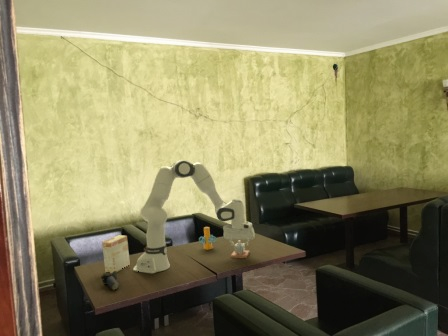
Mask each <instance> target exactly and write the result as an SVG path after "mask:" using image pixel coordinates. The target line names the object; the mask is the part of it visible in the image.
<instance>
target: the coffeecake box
mask: <svg viewBox="0 0 448 336" xmlns="http://www.w3.org/2000/svg"><path fill="white" fill-rule="evenodd" d="M101 245H102V252H103V253H102V254H103V260H104V269H105V270H104V271H105V273H106V272H110V273H113V272H114V271H117V272H120V271H122V270H123V269H125V268H127V267H129V266H131V264H130V263H131V262H130V261H131V260H130V253H129V243H128V235H122V234H119V235H116V236H112V237H111V238H108V239H106V240H104V241H102V242H101ZM128 265H129V266H128ZM126 266H127V267H126ZM124 267H125V268H124ZM122 268H123V269H122Z"/></svg>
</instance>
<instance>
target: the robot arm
mask: <svg viewBox="0 0 448 336" xmlns="http://www.w3.org/2000/svg"><path fill="white" fill-rule="evenodd" d="M189 177H190V178H191V179H192V180H193V182H194V184H195V185H196V187H197V188H198V190H199V191H201V192H202V193H203V194H206V195H207V196H208V198H209V199H210V201H211V203H212V204H213V205H214V210H215V215H216V218H217V220H219V221H220V222H228V221H230V222H231V224H226V223H225V224H224V225H223V226H222V230H223V238H224V239H225V240H228V241H229V242H230V245H231V246H235V242H234V241H233V240H246V242H244V243H245V247H247V246H248V247H249V241H250V240H254V239H255V235H256V234H255V229H254V227H253V223H252V222H250V221H246V219H245V205H244V203H243V201H241V200H239V199H231V200H230V201H229V202H227V203H226V202H225V201H224V200H222V199H223V198H221V196H220V194H219V193H218V192H217V190H216V185H215V181H214V179H213V176H212V175H211V173H210V172H209V170H208V169H207V168H206V166H205V165H204V164H203V163H201V162H195V163H192V162H190V161H188V160H185V159H180V160H177V161H175V162H174V163H172V165H170V166H161V167H160V168H159V170H158V172H157V174H156V176H155V178H154V182H153V185H152V188H151V190H150V194H149V196H148V197H147V200H146V202H145V203H144V205H143V206H142V207H141V209H140V216H141V217H142V219H143V220H144V221H145V222H147V231H146V235H145V236H146V246H145V247H144V248H143V251H144V252H143V253H142V254H141V255H140V256H138V259H137V261H136V265H135V266H134V267H133V272H138V271H139V273H145V274H155V273H159V272H162V271H167V270H168V269H169V268H170V267H171V264H170V262H169V259H168V253H167V252H168V251H167V249H168V248H167V244H166V235H165V229H166V222H167V220H168V214H167V212H166V211H165V209H164V208H163V206H164V204H165V203H166V202H167V200H168V199H169V197H170V193H171V190H172V186H173V183H174V181H175V179H176V178H180V179H185V178H189Z"/></svg>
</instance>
